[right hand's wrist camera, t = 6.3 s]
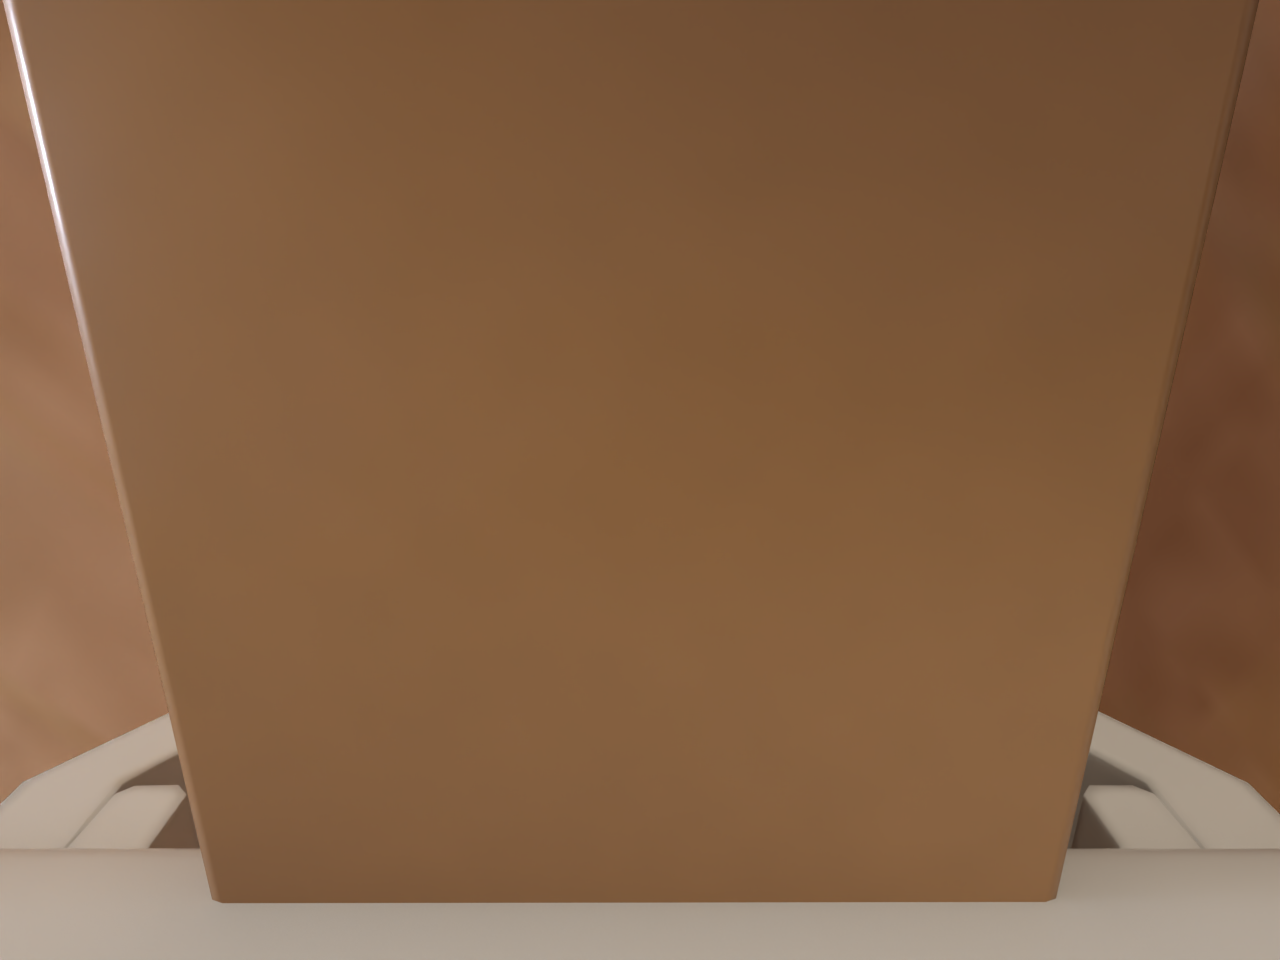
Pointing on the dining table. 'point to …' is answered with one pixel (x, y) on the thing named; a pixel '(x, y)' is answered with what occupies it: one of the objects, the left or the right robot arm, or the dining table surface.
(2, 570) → the dining table surface
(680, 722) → the post
